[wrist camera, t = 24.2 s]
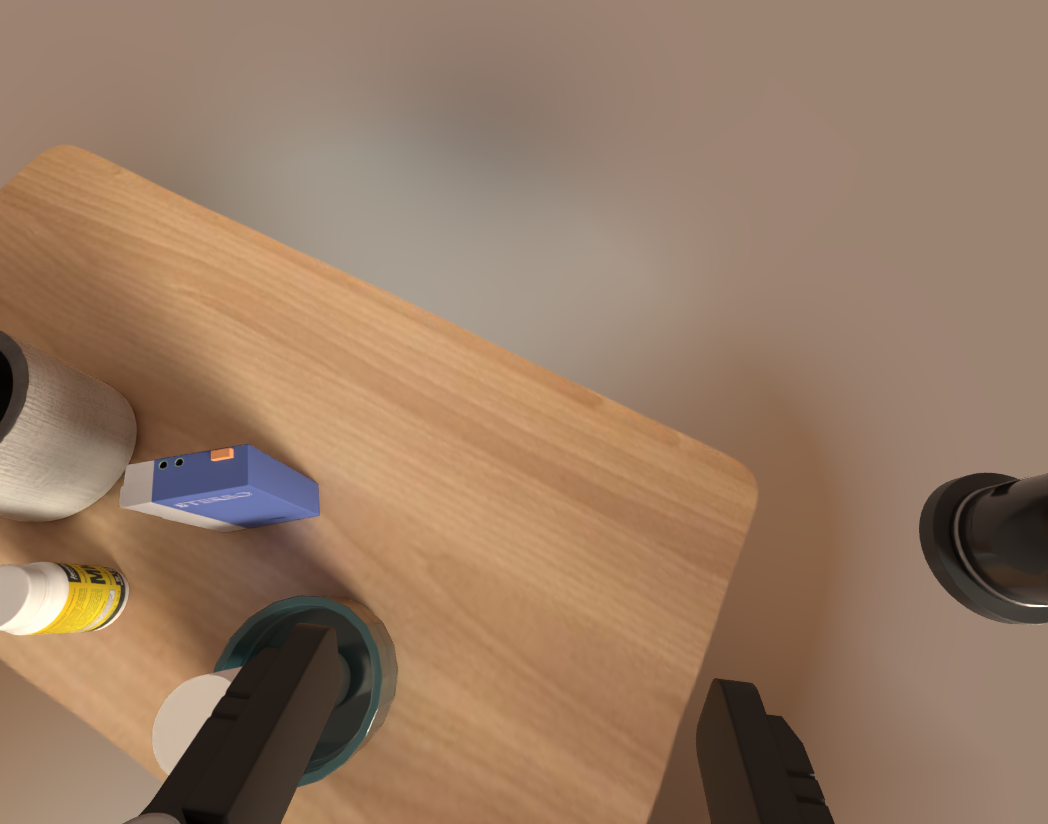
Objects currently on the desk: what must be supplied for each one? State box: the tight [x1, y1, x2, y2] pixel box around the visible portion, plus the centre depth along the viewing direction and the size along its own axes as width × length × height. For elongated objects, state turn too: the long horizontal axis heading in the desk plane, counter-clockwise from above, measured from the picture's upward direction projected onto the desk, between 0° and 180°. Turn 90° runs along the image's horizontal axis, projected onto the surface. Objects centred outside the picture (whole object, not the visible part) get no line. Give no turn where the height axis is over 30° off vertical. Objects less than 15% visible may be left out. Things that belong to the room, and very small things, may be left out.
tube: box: [152, 653, 351, 775], centre depth 31 cm, size 4×4×15 cm
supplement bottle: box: [0, 562, 129, 635], centre depth 37 cm, size 5×5×8 cm
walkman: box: [119, 444, 319, 533], centre depth 37 cm, size 8×3×12 cm, turn 100°
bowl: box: [214, 595, 398, 787], centre depth 36 cm, size 11×11×5 cm
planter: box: [0, 331, 137, 522], centre depth 40 cm, size 13×12×11 cm
